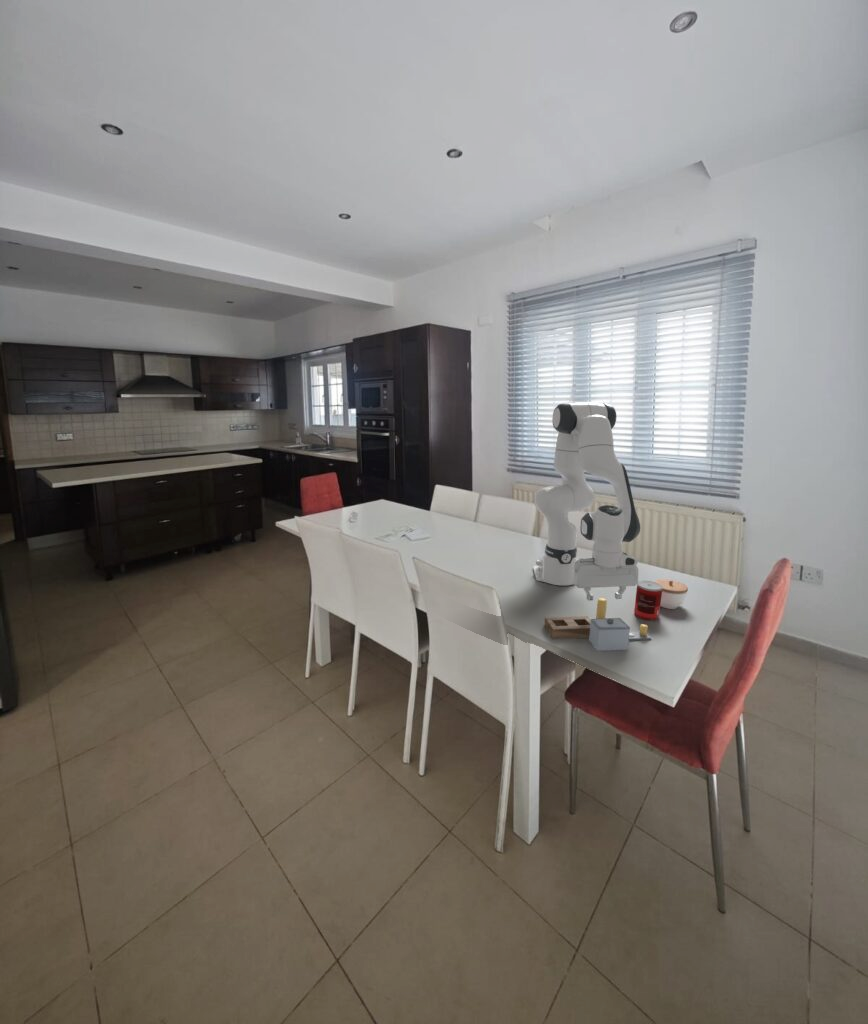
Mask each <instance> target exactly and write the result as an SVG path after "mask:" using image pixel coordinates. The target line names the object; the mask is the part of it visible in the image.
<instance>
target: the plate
mask: <svg viewBox="0 0 868 1024" xmlns="http://www.w3.org/2000/svg"><path fill="white" fill-rule="evenodd" d="M639 626H640V627H639V631H630V632H629V641H649V640H652V637H651V636H650V635H649V634H648V629H649V628H648V627H649V626H648V625H647V624H643V623H641V624H640V625H639ZM629 641H628V642H629Z"/></svg>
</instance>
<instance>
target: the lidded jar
mask: <svg viewBox="0 0 868 1024" xmlns="http://www.w3.org/2000/svg"><path fill="white" fill-rule="evenodd" d="M654 582H656V583H658V584H660V585H662V597H661V604H660V608H661V607H662V608H664V609H668V610H676V609H678V608H679V607H680V606H682V605H683V604H684V603H685V601H686V598H687V594H688V589H689V587H688V586H687V585H686V584H685V583H683V582H680V581H676V580H672V579H656V580H655V581H654Z"/></svg>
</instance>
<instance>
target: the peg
mask: <svg viewBox="0 0 868 1024" xmlns="http://www.w3.org/2000/svg"><path fill="white" fill-rule="evenodd" d="M607 602H608V600H607V599H606V598H605V597H604V598H603V597H599V598H597V602H596V603H597V604H596V605H597V606H596V613H595V614H596V615H595V619H604V618H606V614H607V604H608V603H607Z"/></svg>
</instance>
